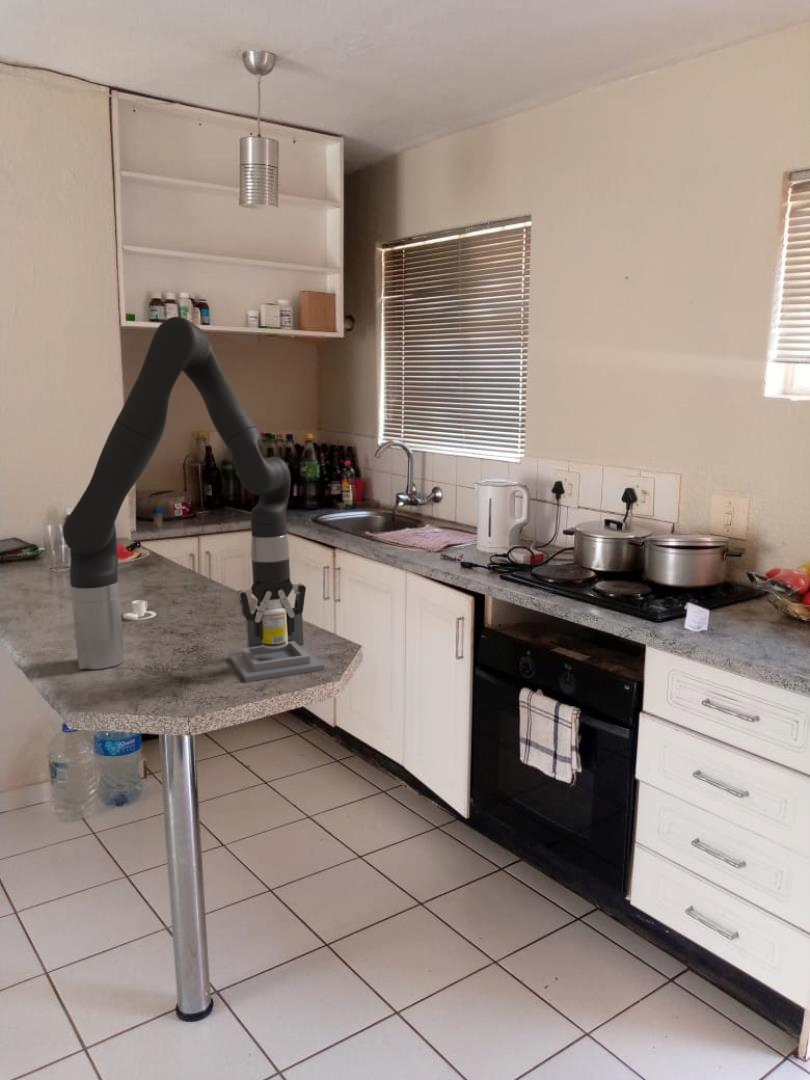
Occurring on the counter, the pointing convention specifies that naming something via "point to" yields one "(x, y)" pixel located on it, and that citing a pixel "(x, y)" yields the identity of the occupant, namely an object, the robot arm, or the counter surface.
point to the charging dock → (275, 656)
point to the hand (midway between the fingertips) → (274, 636)
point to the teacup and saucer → (138, 611)
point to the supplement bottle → (274, 625)
